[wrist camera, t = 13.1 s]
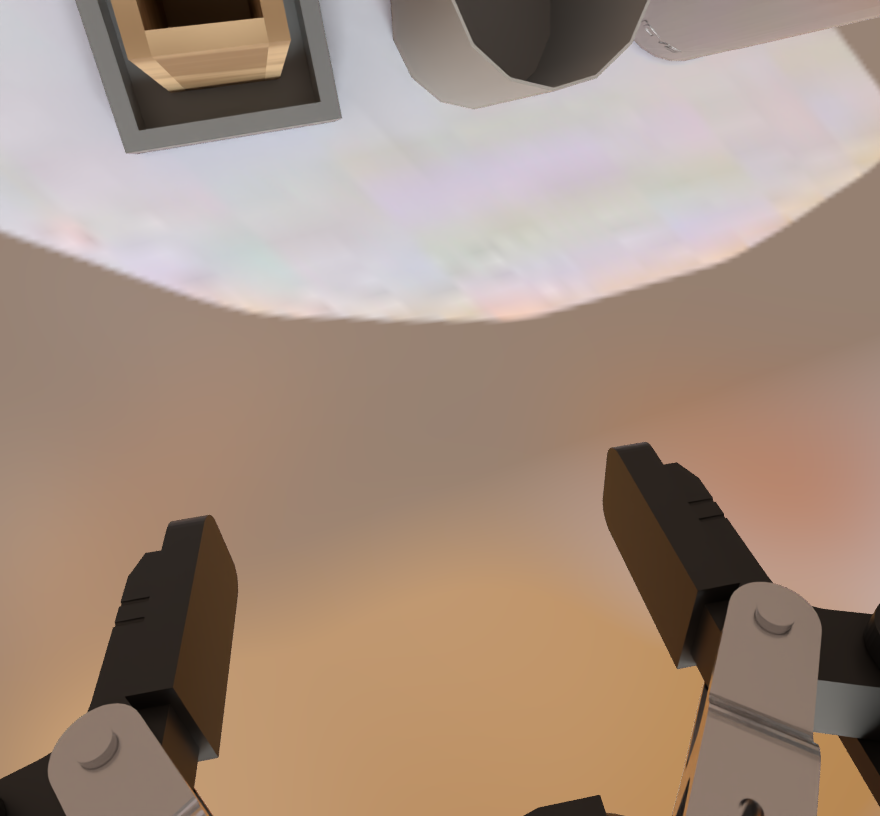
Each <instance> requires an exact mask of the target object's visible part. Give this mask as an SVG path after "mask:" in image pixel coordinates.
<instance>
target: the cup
mask: <svg viewBox="0 0 880 816" xmlns="http://www.w3.org/2000/svg"><path fill="white" fill-rule="evenodd" d="M650 1H651V0H391V14H392V28H393V40H394V42H395V44H396V46H397V49H398V51H399V53H400V55H401V57H402V59H403V61H404V63H405V65H406V67H407V69H408V71H409V73H410V75H411V77H412V78H413V79H414V80H415V81H416V82H417V83H419V84H420V85H421V86H422V87H423V88H425V89H426V90H427V91H428V92H429V93H431V94H432V95H433V96H434V97H435V98H436V99H438V100H439V101H440V102H443V103H448V104H452V105H457V106H461V107H466V108H470V109H478V108H482V107H487V106H491V105H496V104H500V103H504V102H509V101H513V100H518V99H522V98H526V97H531V96H535V95H540V94H544V93H548V92H553V91H556V90H559V89H563V88H566V87H569V86H572V85H576V84H579V83H582V82H585V81H589V80H592V79H595V78H597V77H598V76H599V75H600V74H601V73H602V72H603V71H604V70H605V69H606V68H607V67H608V66H609V65H610V64H611V63H613V62H614V61H615V60H616V59H617V58H618V57H619V56H620V55H621V54H622V53H623V52H624V51H625V50H626V49H627V48H628V47H629V46H630V45H631V44H632V42H633V40H634V38H635V35H636V33H637V31H638V28H639V26H640V24H641V21H642V19H643V17H644V15H645V12H646V10H647V8H648V5H649V3H650Z"/></svg>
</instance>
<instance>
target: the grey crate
mask: <svg viewBox="0 0 880 816" xmlns="http://www.w3.org/2000/svg"><path fill="white" fill-rule="evenodd" d="M75 1H76V4H77V7H78V10H79V13H80V16H81V19H82V22H83V25H84V28H85V31H86V34H87V37H88V40H89V43H90V46H91V49H92V52H93V55H94V58H95V61H96V64H97V67H98V70H99V73H100V76H101V79H102V83H103V86H104V89H105V92H106V95H107V98H108V101H109V104H110V107H111V110H112V113H113V116H114V119H115V122H116V125H117V128H118V131H119V134H120V137H121V140H122V143H123V146H124V149H125V152H126V153H128V154H140V153H146V152H152V151H158V150H164V149H171V148H177V147H183V146H189V145H195V144H201V143H207V142H213V141H219V140H225V139H231V138H238V137H244V136H250V135H256V134H262V133H268V132H274V131H280V130H286V129H292V128H298V127H305V126H311V125H317V124H323V123H329V122H335V121H337V120H339V119H341V118H342V116H341V111H340V106H339V101H338V96H337V91H336V86H335V81H334V76H333V71H332V66H331V61H330V56H329V51H328V46H327V41H326V36H325V31H324V26H323V21H322V16H321V11H320V6H319V1H318V0H283V4H284V9H285V14H286V18H287V23H288V28H289V33H290V38H291V41H290V45H289V48H288V52H287V55H286V59H285V62H284V65H283V69H282V72H281V76H280V79H275V80H268V81H260V82H252V83H244V84H237V85H229V86H221V87H213V88H206V89H198V90H190V91H182V92H175V93H170V92H169V91H168V90H167V89H165V88H164V87H163V86H162V85H160V84H159V83H158V82H156V81H155V80H154V79H153V78H151V77H150V76H149V75H147V74H146V73H145V72H144V71H142V70H141V69H140V68H138V67H137V66H136V65H135V64H133V63H132V62H131V61H129V60H128V58H127V54H126V51H125V47H124V44H123V41H122V37H121V34H120V30H119V27H118V24H117V20H116V17H115V13H114V10H113V7H112V3H111V0H75Z"/></svg>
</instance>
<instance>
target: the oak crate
mask: <svg viewBox="0 0 880 816" xmlns="http://www.w3.org/2000/svg"><path fill="white" fill-rule="evenodd" d="M111 3H112V7H113V10H114V13H115V17H116V20H117V24H118V27H119V30H120V34H121V37H122V41H123V44H124V47H125V51H126V54H127V58H128V60H129V61H131V62H132V63H133V64H135V65H136V66H137V67H138V68H140V69H141V70H142V71H144V72H145V73H146V74H147V75H149V76H150V77H151V78H153V79H154V80H155V81H156V82H158V83H159V84H160V85H162V86H163V87H164V88H165V89H167V90H168V91H169V92H170V93H175V92H182V91H190V90H198V89H206V88H213V87H221V86H229V85H237V84H244V83H252V82H260V81H268V80H275V79H280V76H281V72H282V69H283V65H284V62H285V59H286V55H287V52H288V48H289V45H290V41H291V38H290V33H289V28H288V23H287V18H286V14H285V9H284V4H283V0H111Z"/></svg>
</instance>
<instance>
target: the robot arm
mask: <svg viewBox="0 0 880 816" xmlns="http://www.w3.org/2000/svg"><path fill="white" fill-rule="evenodd" d="M877 17H880V0H651V1H650V3H649V5H648V8H647V10H646V12H645V15H644V17H643V19H642V21H641V24H640V26H639V28H638V31H637V33H636V35H635V38H634V41H635V42H636V43H637V44H638V45H639V46H640V47H641V48H642V49H644V50H645V51H647V52H649V53H650V54H652V55H654V56H656V57H659V58H662V59H666V60H669V61H686V60H690V59H695V58H699V57H703V56H708V55H712V54H717V53H721V52H726V51H730V50H736V49H741V48H745V47H750V46H754V45H759V44H763V43H767V42H772V41H776V40H780V39H785V38H789V37H794V36H798V35H802V34H807V33H811V32H816V31H820V30H824V29H829V28H833V27H837V26H841V25H846V24H851V23H855V22H859V21H863V20H868V19H872V18H877ZM603 511H604V516H605V520H606V523H607V526H608V529H609V531H610V533H611V535H612V537H613V539H614V541H615V543H616V545H617V547H618V549H619V551H620V553H621V555H622V557H623V559H624V561H625V563H626V566H627V568H628V570H629V571H630V574H631V576H632V578H633V580H634V582H635V584H636V586H637V588H638V590H639V592H640V594H641V596H642V598H643V600H644V602H645V605H646V606H647V609H648V610H649V613H650V614H651V616H652V619H653V621H654V623H655V625H656V627H657V629H658V631H659V633H660V635H661V637H662V639H663V641H664V643H665V645H666V647H667V649H668V651H669V654H670V656H671V658H672V660H673V662H674V664H675V666H676V668H677V669H680V668H686V667H691V666H697V667H698V669H699V671H700V673H701V675H702V677H703V679H704V684H703V687H702V691H701V695H700V700H699V704H698V708H697V713H696V717H695V722H694V726H693V731H692V735H691V739H690V744H689V748H688V752H687V757H686V761H685V766H684V770H683V774H682V779H681V782H680V787H679V790H678V794H677V797H676V801H675V805H674V809H673V813H672V816H817V806H818V792H819V780H820V764H821V755H820V748H819V745H818V744H816V743H814V741H813V732H818V733H825V734H832V735H838V736H839V738H840V740H841V741H842V743H843V745H844V746H845V748H846V749H847V752H848V753H849V755H850V757H851V758H852V760H853V762H854V764H855V765H856V767H857V769H858V770H859V772H860V774H861V776H862V777H863V779H864V781H865V782H866V784H867V786H868V787H869V789H870V791H871V793H872V794H873V796H874V798H875V799H876V801H877V803H878V805H879V806H880V604H879V605H878V607H877V608H876V610H875V612H874V613H873V614H864V613H856V612H855V613H854V612H846V611H837V610H828V609H821V608H817V607H813V606H811V605H810V604H809V603H808V602H807V601H806V600H805V599H804V598H803V597H801V596H800V595H799V594H797V593H796V592H794V591H792V590H790V589H788V588H786V587H783V586H781V585H778V584H774V583H773V582H772V581H771V580H770V579H769V577H768V576H767V575H766V573H765V572H764V570H763V569H762V567H761V566H760V565H759V563H758V562H757V560H756V559H755V558H754V556H753V555H752V553H751V552H750V551H749V549H748V548H747V546H746V545H745V543H744V542H743V540H742V539H741V538H740V536H739V535H738V533H737V532H736V530H735V529H734V528H733V526H732V525H731V523H730V522H729V520H728V519H727V518H725V517H724V513H723V512H722V510H721V509H720V508H719V506H718V505H717V503H716V502H713V498H712V496H711V495H710V493H709V492H708V490H707V489H706V488H705V486H704V485H703V483H702V482H701V480H700V479H699V478H698V477H697V476H695V475H694V474H692V473H691V472H690V471H688V470H687V469H685V468H684V467H682V466H681V465H680V464H678V463H671V464H665V465H663V463H662V462H661V460H660V459H659V457H658V456H657V454H656V453H655V451H654V449H653V448H652V447H651V445H650V444H649V443H647V442H642V443H636V444H630V445H624V446H619V447H613V448H610V449H609V450H608V453H607V462H606V472H605V482H604V492H603ZM237 597H238V580H237V573H236V569H235V565H234V563H233V560H232V558H231V555H230V553H229V551H228V549H227V546H226V544H225V542H224V540H223V537H222V535H221V533H220V530H219V528H218V526H217V524H216V522H215V519H214V518H213V517H212V516H211V515H206V516H200V517H194V518H188V519H182V520H177V521H172V522H170V523H169V525H168V527H167V530H166V534H165V538H164V542H163V546H162V550H161V551H156V552H150V553H145V555H144V556H143V557H142V559H141V560H140V561H139V563H138V564H137V566H136V567H135V568H134V570H133V571H132V572H131V574H130V575H129V576H128V579H127V583H126V586H125V589H124V592H123V596H122V599H121V606H120V607H119V609H118V613H117V616H116V620H115V627H114V628H113V630H112V634H111V637H110V640H109V643H108V647H107V650H106V654H105V657H104V661H103V664H102V668H101V671H100V674H99V678H98V681H97V684H96V688H95V691H94V695H93V698H92V702H91V704H90V707H89V710H88V712H87V713H86V714H84V715H83V716H81V717H80V718H79V719H77V720H76V721H75V722H74V723H73V724H72V725H71V726H70V727H69V728H68V729H67V730H66V731H65V732H64V733H63V735H62V736H61V737H60V738H59V740H58V742H57V743H56V745H55V747H54V749H53V751H52V752H51V753H50V754H48V755H47V756H45V757H43V758H41V759H39V760H38V761H36V762H34V763H32V764H30V765H28V766H26V767H24V768H22V769H20V770H18V771H16V772H14V773H12V774H10V775H8V776H6V777H4V778H2V779H0V816H213V814H212V813H211V811H210V810H209V808H208V807H207V805H206V804H205V802H204V801H203V799H202V798H201V796H200V795H199V794H198V792H197V790H196V789H195V788H194V784H195V777H196V770H197V763H198V762H199V761H204V760H209V759H214V758H218V757H219V747H220V739H221V732H222V723H223V714H224V706H225V698H226V690H227V681H228V673H229V664H230V655H231V648H232V639H233V630H234V622H235V614H236V605H237ZM524 816H622V815H618V814H612V813H606V812H605V809H604V806H603V803H602V800H601V797H600V795H596V796H592V797H587V798H583V799H577V800H573V801H568V802H564V803H559V804H554V805H549V806H544V807H540V808H537V809H535V810H533V811H532V812H530V813H528V814H526V815H524Z"/></svg>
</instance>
